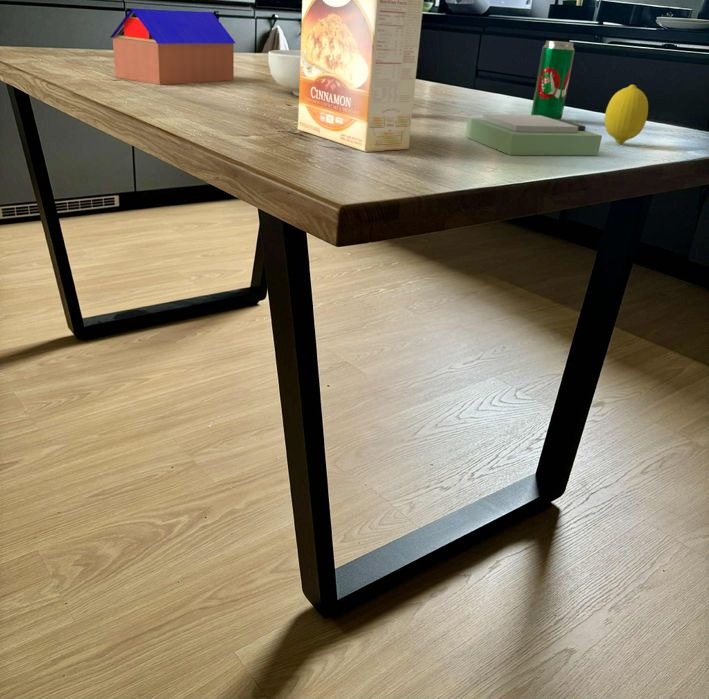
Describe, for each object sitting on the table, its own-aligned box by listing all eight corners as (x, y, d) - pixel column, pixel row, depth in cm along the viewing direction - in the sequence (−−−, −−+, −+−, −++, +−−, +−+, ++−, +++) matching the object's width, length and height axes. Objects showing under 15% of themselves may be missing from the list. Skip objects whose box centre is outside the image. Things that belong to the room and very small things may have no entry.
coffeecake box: (295, 130, 93) (301, -40, 85) (340, 128, 97) (350, -35, 88) (363, 152, 82) (378, -40, 74) (410, 149, 86) (429, -33, 78)
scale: (547, 138, 102) (551, 113, 100) (598, 155, 92) (603, 129, 90) (465, 136, 98) (468, 111, 96) (509, 155, 88) (513, 127, 86)
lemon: (627, 141, 104) (640, 83, 101) (647, 148, 99) (662, 88, 96) (592, 139, 103) (604, 81, 100) (611, 147, 98) (624, 85, 95)
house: (112, 77, 131) (107, 6, 125) (191, 73, 146) (189, 9, 141) (159, 85, 125) (156, 11, 120) (236, 79, 140) (235, 14, 135)
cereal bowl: (334, 89, 137) (336, 50, 134) (381, 102, 124) (385, 59, 121) (252, 89, 129) (252, 46, 125) (294, 103, 116) (295, 56, 113)
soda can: (549, 117, 122) (563, 41, 117) (567, 122, 118) (582, 43, 113) (524, 116, 121) (537, 39, 115) (541, 122, 117) (555, 42, 111)
